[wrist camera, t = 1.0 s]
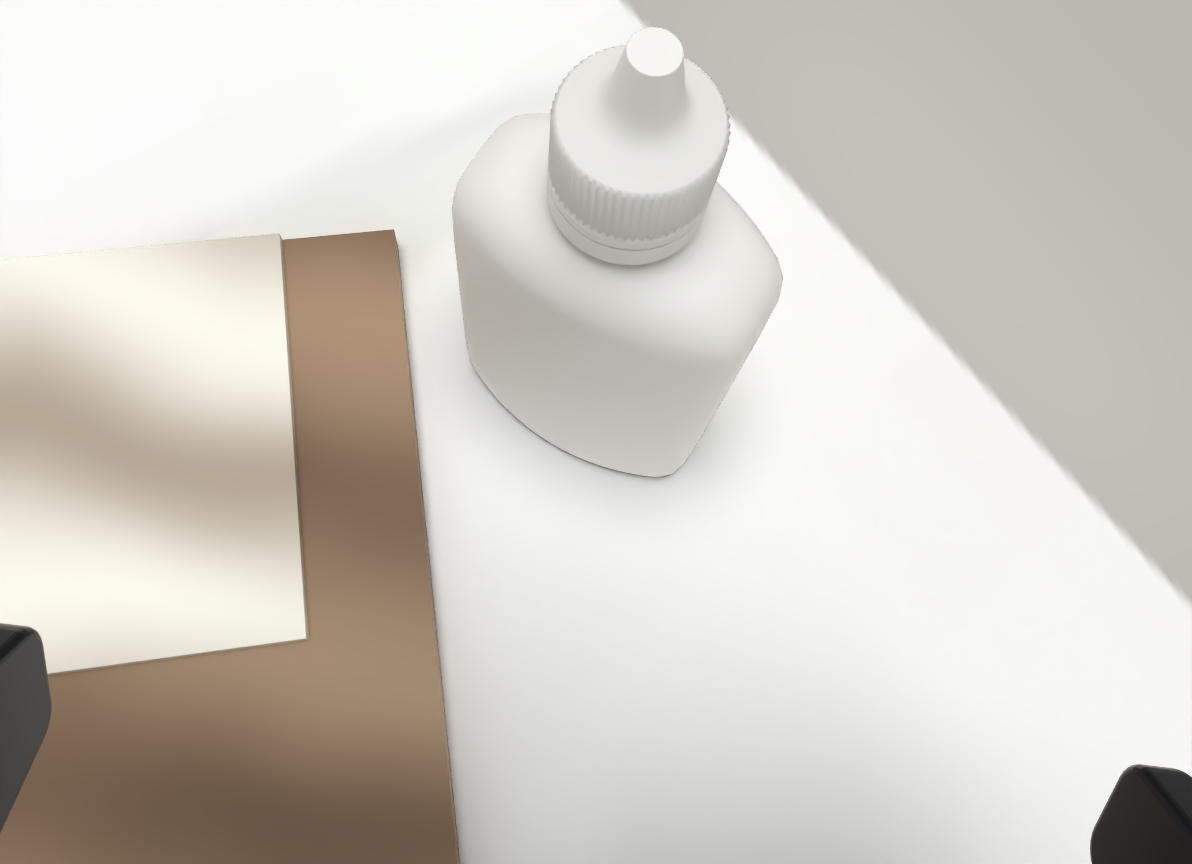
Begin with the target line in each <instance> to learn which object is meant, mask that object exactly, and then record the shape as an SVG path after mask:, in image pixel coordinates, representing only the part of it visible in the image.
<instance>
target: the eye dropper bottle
mask: <svg viewBox="0 0 1192 864" xmlns="http://www.w3.org/2000/svg"><path fill="white" fill-rule="evenodd" d="M711 79H712V78H710V77H709V76H708V75H706V72H705V71H703V70H701V69H700V68H699V66H697V65H696V64H694V63H693V62H692V61H690V60H688V59H686V58H685V57H684V53H683V47H682V44H681V43H680V41H679V39H678V38H677V37H676V36H675V35H674V34H672V33H671V32H669V31H668V30H665V29H662V28H658V27H648V28H644V29H641V30H639V31H637V32H635V33H634V34H633V35H632V36H631V37H630V39H629V40H628V42H627V45H621V46H619V47H612V48H610V49H604V50H603V51H601V52H596V53H595V55H592V56H588V59H586V60H583V61H581V62H580V64H579V65H577V66H574V70H572V71H570V72H568V76H567V77H566V78H564V79H563V83H562V84H561V85H560V86H559V88H558V92H557V93H555V100H554V101H553V104H552V109H551V114H525V115H520V116H515V117H513V118H511V119H509V120H508V121H506V122H505V123H503V124H502V125H500V126H499V127H498V128H497V129H496V130H495V131H494V133H493V134H492V135H491V136H490V137H489V138H488V139H487V141H486V142H485V143H484V145H483V146H482V147H481V148H480V150H479V151H478V152H477V154H476V155H475V157H474V158H473V159H472V161H471V162H470V163H469V165H468V166H467V168H466V170H465V171H464V173H463V174H462V176H461V178H460V179H459V181H458V184H457V187H456V190H455V193H454V197H453V204H452V215H453V230H454V242H455V251H456V260H457V269H458V278H459V287H460V295H461V304H462V312H463V320H464V328H465V336H466V344H467V350H468V354H469V358H470V361H471V364H472V365H473V367H474V368H475V370H476V372H477V373H478V375H479V376H480V378H481V379H482V380H483V382H484V383H485V384H486V386H487V387H488V388H489V390H490V391H491V392H492V393H493V394H494V395H495V397H496V398H497V399H498V400H499V401H500V402H501V403H502V404H503V405H504V406H505V407H506V408H507V409H508V410H509V411H510V412H511V413H512V414H513V415H514V416H515V417H516V418H517V419H518V420H520V421H521V422H522V423H523V424H524V425H526V426H527V427H528V428H529V429H531V430H532V431H533V432H535V433H536V434H538V435H539V436H540V437H542V438H543V439H545V440H547V441H548V442H550V443H551V444H553V445H555V446H557V447H558V448H560V449H562V450H564V451H566V452H568V453H570V454H572V455H574V456H576V457H579V458H581V459H583V460H586V461H588V462H591V463H594V464H597V465H600V466H603V467H606V468H610V469H613V470H617V471H621V472H626V473H631V474H636V475H642V476H652V477H660V476H665V475H670V474H673V473H674V472H675V471H676V470H678V469H679V468H680V467H681V466H682V465H683V464H684V463H685V461H686V460H687V458H688V457H689V455H690V454H691V452H692V451H693V449H694V447H695V446H696V444H697V442H698V441H699V439H700V437H701V436H702V434H703V432H704V431H705V429H706V427H707V426H708V424H709V422H710V421H711V419H712V417H713V416H714V414H715V412H716V410H717V409H718V407H719V405H720V404H721V402H722V400H723V398H724V397H725V395H726V393H727V392H728V390H729V388H730V386H731V385H732V383H733V381H734V380H735V378H736V376H737V374H738V373H739V371H740V369H741V367H742V366H743V364H744V362H745V360H746V359H747V357H748V355H749V353H750V352H751V350H752V348H753V346H754V345H755V343H756V341H757V339H758V337H759V336H760V334H761V332H762V330H763V328H764V326H765V325H766V323H767V321H768V319H769V317H770V315H771V313H772V311H773V309H774V307H775V306H776V304H777V302H778V299H779V295H780V291H781V286H782V281H783V276H782V272H781V268H780V265H779V262H778V259H777V257H776V255H775V253H774V252H773V250H772V248H771V247H770V245H769V243H768V242H767V240H766V239H765V237H764V236H763V234H762V233H761V232H760V230H759V229H758V228H757V226H756V225H755V224H754V222H753V221H752V220H751V219H750V217H749V216H748V215H747V214H746V212H745V211H744V210H743V209H742V207H741V206H740V205H739V204H738V203H737V202H736V201H735V200H734V199H733V198H732V197H731V196H730V194H729V193H728V192H727V191H726V190H725V189H724V188H723V187H722V186H720V185H719V184H718V183H717V182H716V180H717V177H718V175H719V172H720V169H721V166H722V163H723V160H724V157H725V155H726V152H727V147H728V144H729V136H730V131H729V128H730V125H731V124H730V123H729V121H728V120H729V117H730V116H729V115H728V113H727V110H728V108H727V107H726V105H725V104H724V102H725V100H724V99H723V97H722V96H721V92H720V91H719V90H718V89H717V88H716V87H717V85H716V84H715V83H714V82H712V81H711Z"/></svg>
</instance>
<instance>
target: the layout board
mask: <svg viewBox="0 0 1192 864" xmlns="http://www.w3.org/2000/svg"><path fill="white" fill-rule="evenodd" d="M0 623H4V624H12V625H20V626H28V627H31V628H33V629H35V630H36V631H37V632H38V633H39V635H40V636H41V639H42V642H43V647H44V654H45V661H46V668H47V674H48V681H49V688H50V695H51V704H52V709H51V718H50V723H49V726H48V729H47V732H46V735H45V737H44V739H43V742H42V744H41V746H40V748H39V750H38V752H37V755H36V757H35V759H34V761H33V763H32V765H31V768H30V770H29V772H28V774H27V776H26V778H25V781H24V783H23V785H22V787H21V789H20V792H19V794H18V796H17V798H16V800H15V802H14V805H13V807H12V809H11V811H10V813H9V815H8V818H7V820H6V822H5V824H4V826H3V828H2V831H1V833H0V864H460V858H459V848H458V838H457V828H456V819H455V809H454V799H453V789H452V779H451V769H450V759H449V749H448V739H447V729H446V720H445V710H444V700H443V690H442V680H441V670H440V660H439V650H438V640H437V630H436V620H435V611H434V601H433V591H432V581H431V571H430V561H429V551H428V541H427V531H426V521H425V511H424V502H423V492H422V482H421V472H420V462H419V452H418V442H417V432H416V422H415V412H414V403H413V393H412V383H411V373H410V363H409V353H408V343H407V333H406V323H405V313H404V303H403V294H402V284H401V274H400V264H399V254H398V245H397V241H396V236H395V232H394V229H393V230H383V231H372V232H361V233H351V234H340V235H330V236H319V237H309V238H298V239H287V240H282V238H281V236H280V234H271V235H260V236H250V237H239V238H228V239H218V240H207V241H196V242H186V243H175V244H164V245H154V246H143V247H132V248H122V249H111V250H100V251H90V252H79V253H68V254H58V255H47V256H37V257H26V258H15V259H5V260H0Z"/></svg>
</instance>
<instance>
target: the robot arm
mask: <svg viewBox="0 0 1192 864" xmlns="http://www.w3.org/2000/svg"><path fill="white" fill-rule="evenodd" d="M51 709H52V704H51V695H50V688H49V681H48V674H47V668H46V661H45V654H44V647H43V642H42V639H41V636H40V635H39V633H38V632H37V631H36V630H35V629H33V628H31V627H28V626H20V625H12V624H4V623H0V833H1V831H2V828H3V826H4V824H5V822H6V820H7V818H8V815H9V813H10V811H11V809H12V807H13V805H14V802H15V800H16V798H17V796H18V794H19V792H20V789H21V787H22V785H23V783H24V781H25V778H26V776H27V774H28V772H29V770H30V768H31V765H32V763H33V761H34V759H35V757H36V755H37V752H38V750H39V748H40V746H41V744H42V742H43V739H44V737H45V735H46V732H47V729H48V726H49V723H50V718H51ZM1090 853H1091V861H1092V864H1192V777H1191V776H1189V775H1188V774H1186V773H1185V772H1183V771H1180V770H1177V769H1173V768H1165V767H1157V766H1149V765H1141V764H1138V765H1132V766H1130V767H1128V768H1127V769H1126V770H1125V771H1123V773H1122V774H1121V776H1120V778H1119V780H1118V782H1117V784H1116V786H1115V788H1114V790H1113V792H1112V793H1111V795H1110V797H1109V799H1108V801H1107V803H1106V805H1105V807H1104V809H1103V811H1102V813H1101V815H1100V817H1099V819H1098V821H1097V823H1096V825H1095V827H1094V829H1093V832H1092V837H1091V844H1090Z"/></svg>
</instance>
